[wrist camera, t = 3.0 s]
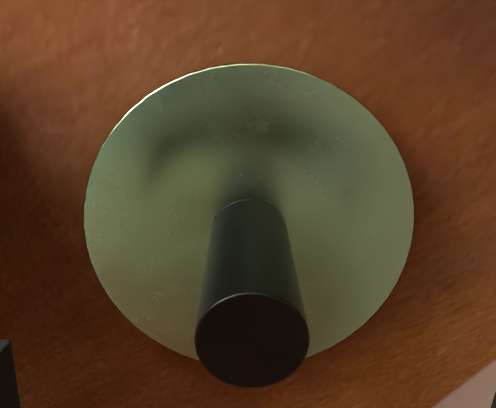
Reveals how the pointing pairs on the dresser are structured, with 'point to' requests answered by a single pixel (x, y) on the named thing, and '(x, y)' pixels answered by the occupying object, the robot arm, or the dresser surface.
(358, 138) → the lid
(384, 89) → the dresser surface
